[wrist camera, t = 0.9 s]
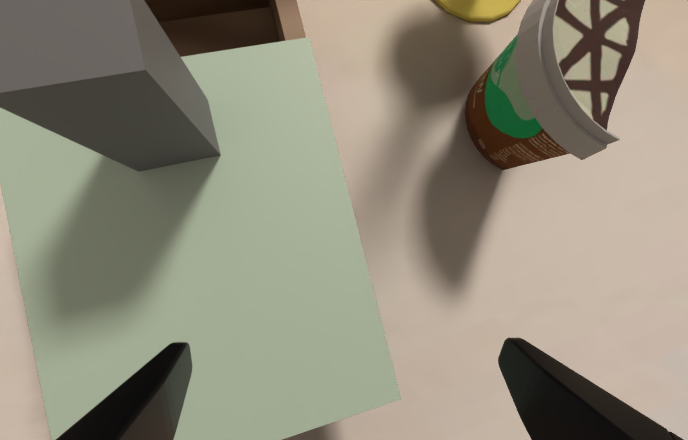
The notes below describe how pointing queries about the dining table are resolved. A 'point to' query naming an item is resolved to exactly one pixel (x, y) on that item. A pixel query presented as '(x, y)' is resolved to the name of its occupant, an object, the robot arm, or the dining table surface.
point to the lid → (183, 223)
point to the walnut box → (226, 23)
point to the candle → (478, 9)
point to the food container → (554, 82)
